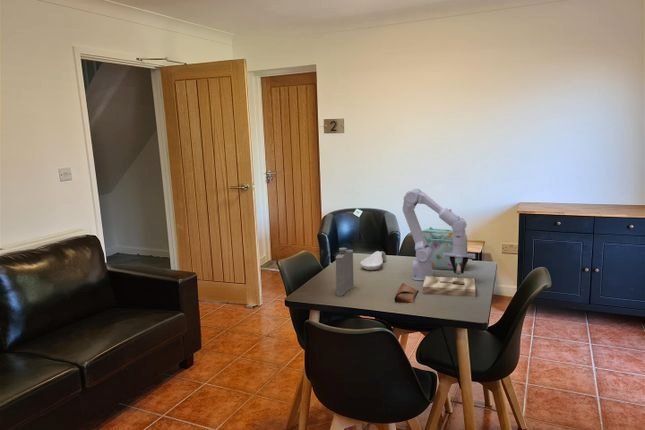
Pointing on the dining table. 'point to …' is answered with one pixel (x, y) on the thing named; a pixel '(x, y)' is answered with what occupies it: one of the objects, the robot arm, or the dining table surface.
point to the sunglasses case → (405, 294)
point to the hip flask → (344, 271)
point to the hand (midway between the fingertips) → (458, 272)
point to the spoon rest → (374, 261)
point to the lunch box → (441, 247)
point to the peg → (458, 269)
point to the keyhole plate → (449, 286)
